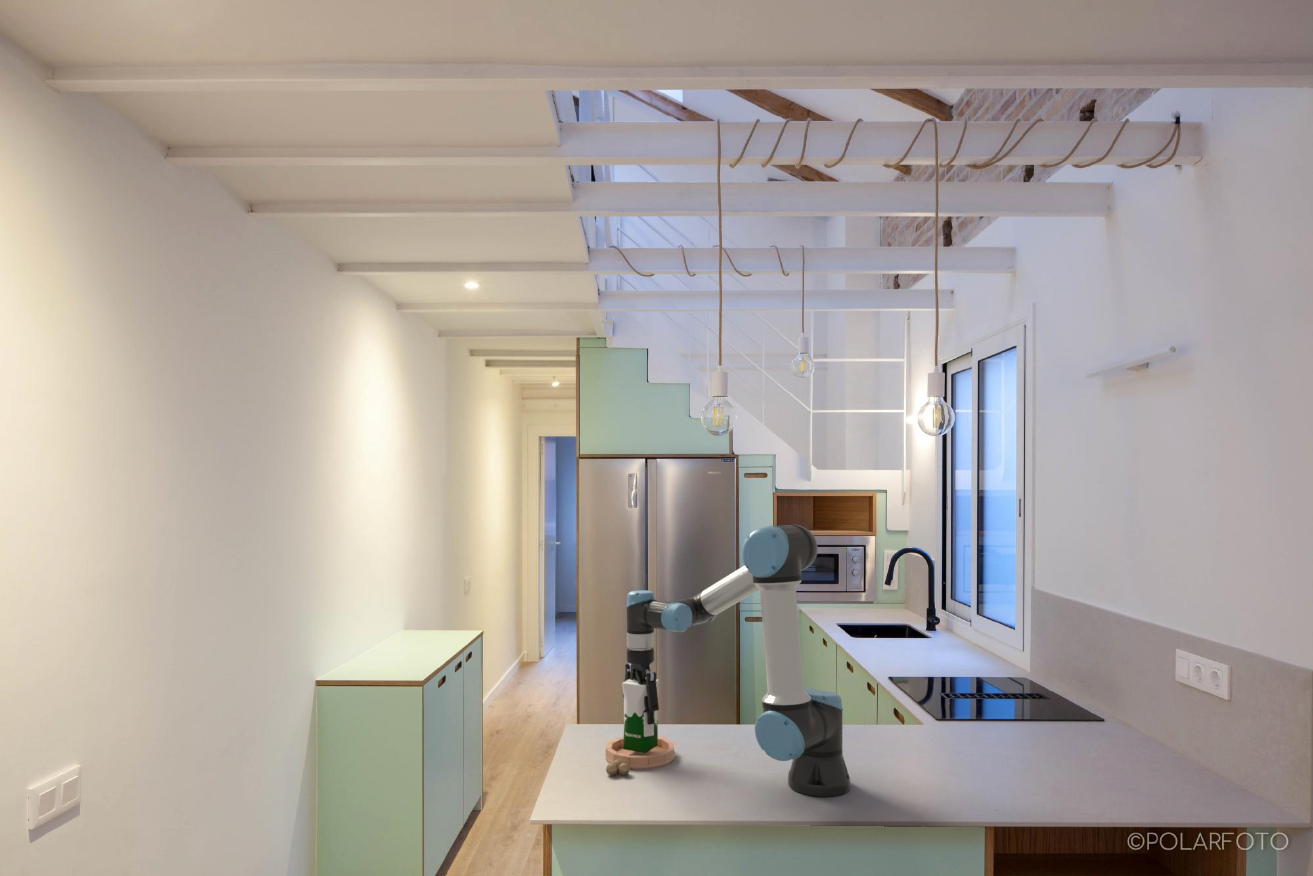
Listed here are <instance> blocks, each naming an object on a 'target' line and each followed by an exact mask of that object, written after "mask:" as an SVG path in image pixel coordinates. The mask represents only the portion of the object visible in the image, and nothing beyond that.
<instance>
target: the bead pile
mask: <svg viewBox="0 0 1313 876" xmlns="http://www.w3.org/2000/svg"><path fill="white" fill-rule="evenodd" d="M605 770H606V774H607V775H609V776H612V777H613V776H615V775H617V773H619V774H620V775H621V776H627V775H628V774H629V773H630V770H631V769H630V767H629V765H628V764H627V763H622V761H621V760H615V761H613V763H608V764H607V766H606V768H605Z"/></svg>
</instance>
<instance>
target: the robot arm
mask: <svg viewBox="0 0 1313 876" xmlns="http://www.w3.org/2000/svg"><path fill="white" fill-rule="evenodd" d="M817 556H818V542H817V540H816V538H815V535H814V534H813V533H812V532H811V531H810V530H809V529H808V528H807V527H805V526H802V525H798V524H786V525H785V524H784V525H768V526H764V527H760V528H756V529H755V530H753V531H752V532H750V534H749V535H748V536H747V537H746V538H745V540H744V542H743V545H742V549H741V558H742V559H741V560H742V563H743V566H741V567H739V568H738V569H736V570H735V571H733V572H731V573H730V574H728V575H726V576H725V577H723V578H721V579H720V580H718V581H717V582H715V583H713V584H712V585H710V586H709V587H707V588H705V589H704V590H702V591H700V592H698V593H697V594H695V595H694V596H692V597H688V598H682V599H675V600H670V601H664V600H658V599H656V598H655V593H654V592H653V591H651V590H645V589H643V590H641V589H639V590H632V591H629V592H628V593H627V596H626V597H627V598H626V599H627V600H626V647H627V649H626V661H627V663H625V668H624V669H625V672H624V673H625V674H624V682H625V681H626V680H629V679H630V680H633V679H634V680H636V681H638V684H640V685H643V684H646V687H647V696H645V697H644V705H645V710H644V711H643V712H644V737H647V736H653V735H654V711H657V710H658V711H659V710H660V705H659V698H658V696H657V687H656V680H657V672H652V671H651V667H650V665H651V664H653V663H654V661H655V649H654V645H655V634H654V633H655V629H657V630H663V631H666V632H667V631H668V632H671V633H684V632H686V631H688V629H689V628H690V627H692V626H696V625H697V626H698V625H702V624H707V623H710V622H713V621H714V620H715V619H716V618H717V617H718V615H719V614H720V613H722V612H724V611H726V610H728V609H729V608H731V607H732V606H734V605H736V604H738V603H739V602H741V601H743V600H744V599H746V598H748V597H750V596H752V595H754V594H755V593H757V592H760V594H759V595H760V607H761V608H760V609H761V619H762V620H761V622H762V632H763V634H762V635H763V647H764V658H765V659H764V660H765V661H764V662H765V672H766V684H767V686H766V687H767V691H766V693H765V694H764V695H763V697H762V698H761V703H762V705H761V706H762V707H761V708H762V713H761V714H760V715H759V717H758V718H757V719H756V721H755V724H754V735H755V738H756V742H757V743H758V745H759V747H760V749H761V750H763V751H764V752H765V754H766V755H767V756H768V757H770V758H772V759H773V760H775V761H779V762H788V761H791V760H792V761H791V766H790V770H788V772H787V773H788V774H787V785H788V786H789V787H790V788H791V790H793V791H795V792H798V793H799V794H803V795H806V796H807V795H808V796H813V797H822V798H823V797H825V798H827V797H836V796H841V795H844V794H847V793H848V792H849V791H850V790H851V777H850V775H849V772H848V769H847V768H848V767H847V765H846V761H845V759H844V756H843V755H844V754H843V711H844V708H843V704H842V698H841V696H840V695H839V694H837V693H835V692H832V691H828V690H821V689H814V688H805V685H804V673H803V661H802V649H801V647H802V646H801V636H800V626H799V625H800V624H799V612H798V611H799V610H798V599H797V588H798V587H799V585H800V584H801V583H802V571H804V570H806V569H808V568H809V567H810V566H812V565H813V564H814V562H815V560H816V558H817ZM650 671H651V672H650ZM644 682H646V683H644ZM622 697H623V699H624V693H623V692H622Z"/></svg>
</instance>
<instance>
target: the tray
mask: <svg viewBox="0 0 1313 876" xmlns="http://www.w3.org/2000/svg"><path fill="white" fill-rule="evenodd" d="M623 740H624V736H621V737H617V738H614V739H611V740H610V741H608V742H607V743H606V746H605V755H604V756H605V761H606V762H607V763H608V764H610V763H613V761H615V760H621V761H622V763H627V764H628V765H629V767H630V770H651V769H653V770H654V769H657V768H663V767H665V766H668V765H670V764H672V763H673V762H674V761H675V759H676V752H675V743H674V742H673V741H671V740H669V739H667V738H664V737H660V736H658V746H656V747H655V748H653V749H651V750H650V751H648V752H646V753H642V752H636V751H630V750H625V749H623Z"/></svg>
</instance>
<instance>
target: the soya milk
mask: <svg viewBox="0 0 1313 876" xmlns="http://www.w3.org/2000/svg"><path fill="white" fill-rule="evenodd" d="M650 672H652V671H651V670H650ZM644 683H646V682H644ZM659 684H660V679H656V687H657V696H658V695H659V686H660V685H659ZM621 685H622V694H623V693H624V698H623V737H624V740H623V749H625V750H630V751H636V752H642V753H646V752H648V751H650V750H651V749H653V748H655V747H656V746H658V737H659V735H658V734H659V733H658V732H659V731H658V729H659V727H658V726H659V725H658V724H659V723H658V721H659V720H658V717H659V716H658V715H659V712H658V711H659V710H657V711H654V735H653V736H647V737H644V712H643V711H644V710H645V705H644V697H645V696H647V687H646V684H643V685H640V684H638V681H636V680H634V679H633V680H630V679H629V680H626V681H625V680H624V681H623V682H622V683H621Z"/></svg>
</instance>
